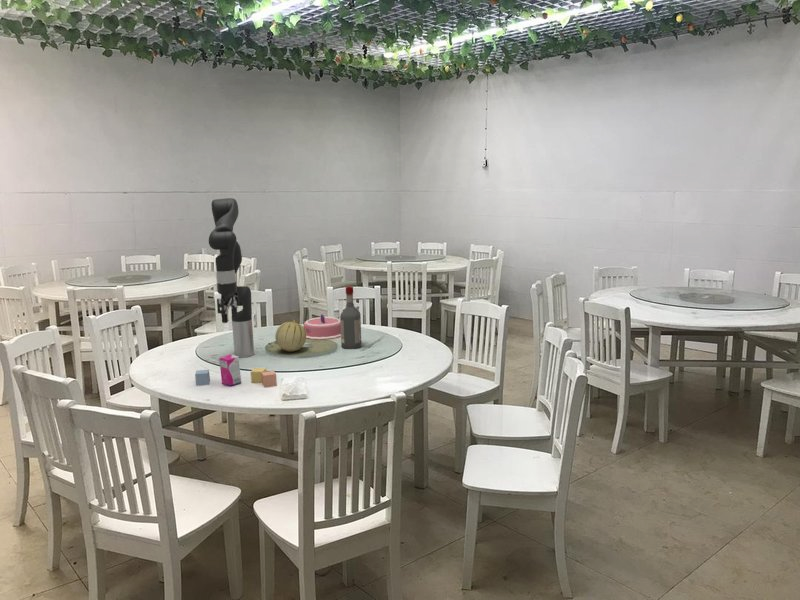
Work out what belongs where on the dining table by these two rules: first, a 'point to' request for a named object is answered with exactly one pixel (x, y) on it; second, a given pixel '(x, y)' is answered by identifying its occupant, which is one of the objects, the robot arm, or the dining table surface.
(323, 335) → the cake
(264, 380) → the terracotta block
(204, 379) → the slate block
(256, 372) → the ochre block
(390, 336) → the dining table surface
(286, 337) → the cantaloupe
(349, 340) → the liquor
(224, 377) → the supplement box
